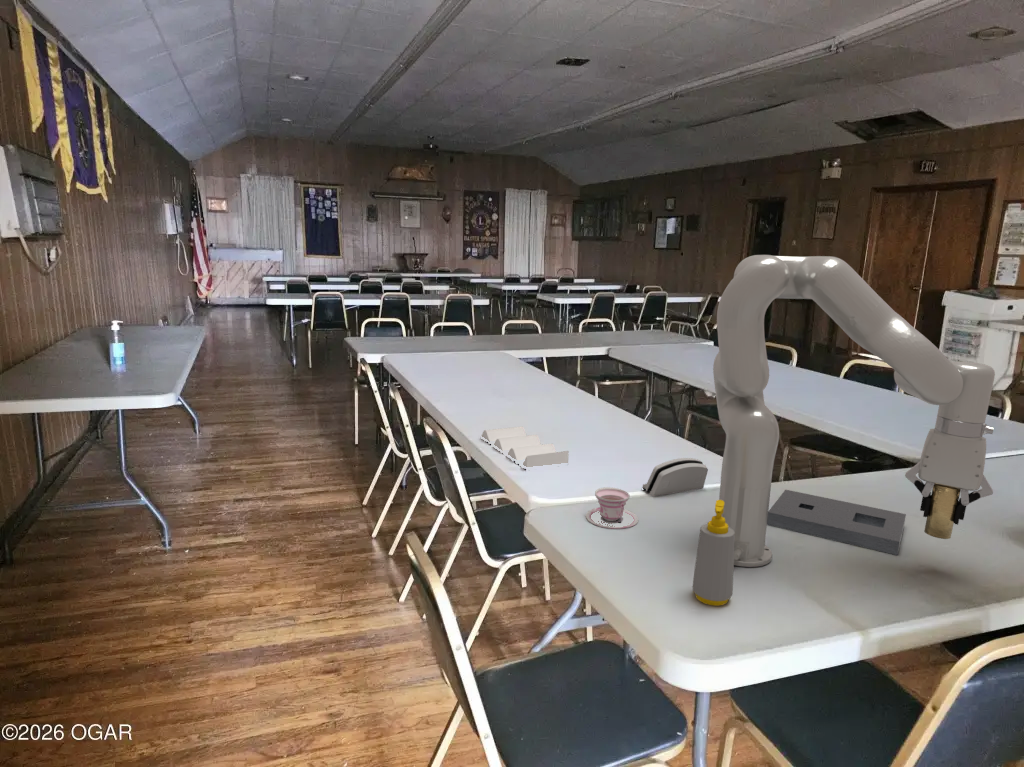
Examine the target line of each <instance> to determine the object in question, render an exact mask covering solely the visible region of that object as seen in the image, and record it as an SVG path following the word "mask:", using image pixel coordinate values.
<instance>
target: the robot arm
mask: <svg viewBox="0 0 1024 767" xmlns="http://www.w3.org/2000/svg"><path fill="white" fill-rule="evenodd" d="M775 299H789V300H790V299H791V300H794V299H795V300H803V299H804V300H812V301H813V302H814V303H816V304H817V306H819V307H820V309H822V311H824V313H825V314H826V315H827V316H829V317H830V319H832V321H833V322H834V323H835V324H836V325H837V326H838V327H839V328H840V329H841V330H843V332H844V333H845V334H846V335H847V336H848V338H850V339H851V340H852V341H853V342H855V343H856V344H857V345H858V346H860V347H861V348H862V349H864V350H866V351H868V352H869V353H871V354H873V355H874V356H876V357H878V359H881V361H883V362H884V363H886V365H889V367H890V368H891V369H893V370H894V371H893V379H894V382H895V384H896V386H898V388H899V389H900V390H901V391H903V392H904V393H906V394H908V395H911V396H912V397H914V398H917V399H919V400H921V401H923V402H924V403H928V404H929V405H933V406H934V405H935V406H938V410H937V415H936V418H935V419H936V420H935V425H934V428H930V429H929V431H928V433H927V435H926V439H925V440H924V444H923V448H922V453H921V456H920V458H919V461H918V462H917V463H916V464H915V465H913V466H912V467H911V468H910V469H908V470H907V471H906V472H905V473H904V474H905V475H904V477H905V478H906V479H907V480H908V481H909V482H911V484H912V485H914V486H915V488H916V489H917V490H918V491H919V493H920V494H921V496H922V499H921V504H920V508H919V511H921V512H923V515H922V517H923V518H927V517H928V512H929V507H930V502H931V494H932V489H933V486H934V484H939V485H944V486H948V487H953V488H958V489H960V497H959V500H958V504H957V509H956V513H955V518H954V525H959V522H960V520H961V521H964V520H965V519H964V518H965V513H966V509H967V506H968V505H970V504H972V503H973V502H975V501H977V500H979V499H981V498H987V497H989V496H991V495H993V493H994V490H993V488H992V486H991V485H990V483H989V481H988V479H987V478H986V476H985V474H984V471H985V464H986V457H987V453H986V452H987V438H986V437H983V436H985V435H987V434H990V435H993V433H994V430H995V429H994V426H989V425H987V423H986V420H987V415H988V411H989V405H990V400H991V396H992V391H993V386H994V381H995V376H996V372H995V369H994V368H993V367H992V366H990V365H989V364H985V363H980V362H974V361H959V360H958V361H951V360H950V359H949V358H948V357H947V356H946V355H945V353H943V351H941V350H940V349H939V348H938V347H937V346H936V345H935V344H934V343H932V341H931V340H929V339H928V338H927V337H926V336H925V335H924V334H922V333H921V332H920V331H919V330H917V329H916V328H915V327H914V326H912V325H911V324H910V323H909V322H908V321H907V320H906V319H905V318H903V317H902V315H900V314H899V313H898V312H897V311H895V310H894V309H893V308H892V307H891V306H890V305H889V304H888V303H887V302H886V301H885V300H884V299H883V298H882V297H881V296H880V295H879V294H877V292H876V291H875V289H873V288H872V287H871V286H870V285H869V284H868V283H867V282H866V280H864V278H862V277H861V276H860V275H859V273H858V272H856V271H855V269H854V268H853V267H852V266H850V264H849V263H847V262H846V261H845V260H843V259H842V258H839V257H837V256H829V255H828V256H825V255H822V256H821V255H816V256H815V255H813V256H811V255H810V256H789V255H771V254H754V255H751V256H748V257H745V258H744V259H742V260H741V261H740V262H739V263H738V264H737V266H736V268H735V270H734V273H733V278H732V279H731V280H730V281H729V283H728V284H727V286H726V288H725V289H724V291H723V293H722V294H721V296H720V299H719V303H718V306H717V312H716V328H717V330H716V331H717V340H718V341H717V342H718V353H717V354H716V356H715V358H714V361H713V364H712V366H713V368H712V371H713V372H712V373H713V381H714V382H713V383H714V390H715V398H716V407H717V414H718V419H719V422H720V425H721V427H722V429H723V431H724V433H725V444H724V450H723V456H722V457H723V458H722V464H721V471H720V486H719V496H718V500H723V501H724V511H723V514H722V517H724V518H725V523H727V524H728V527H730V528H731V529H733V530H734V532H735V541H734V566H737V567H745V568H746V567H747V568H755V567H763V566H765V565H768V564H769V563H771V561H772V559H773V552H772V550H771V548H769V547H768V546H767V545H766V537H767V527H768V525H767V519H768V511H769V510H770V509H769V507H770V500H771V498H770V497H771V489H772V479H773V478H772V477H773V470H774V464H775V458H776V453H777V450H778V445H779V442H780V441H779V440H780V427H779V422H778V420H777V417H776V416H775V414H774V413H773V412H772V411H771V410H770V408H768V407H767V405H766V404H765V397H764V390H765V389H766V388H767V386H768V384H769V379H770V368H769V367H770V366H769V361H768V354H767V346H766V338H765V315H766V312H767V309H768V308H769V306H770V305H771V303H772V302H773V301H774V300H775ZM917 475H918V476H917ZM923 481H924V482H925V483H924V482H923ZM980 487H981V489H980Z"/></svg>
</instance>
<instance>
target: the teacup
mask: <svg viewBox="0 0 1024 767" xmlns="http://www.w3.org/2000/svg"><path fill="white" fill-rule="evenodd" d="M594 496H595V498H596V499H597V501H598V503H599V507H596V508H592V509H590V510H588V511H587V512H586V513H585V519H586V520H587V521H588V522H589V523H591V524H592V525H594V526H596V527H597V526H598V527H601V528H604V529H611V530H612V529H613V530H620V529H622V530H623V529H628V528H633V527H634V526H636V525H637V524H638V523H639V517H638V515H637V514H635V512H632V511H630V510H628V509H626V508H625V506H626V505H627V504H626V503H627V502H628V500H629V499H630V497H631V495H630V494H629V492H628V491H626V490H624V489H621V488H618V487H617V488H616V487H610V486H609V487H608V486H607V487H600V488H597V489H595V491H594ZM597 511H599V512H600V515H601V516H602V519H604V521H606V523H607V522H610V523H611V524H612V523H613V522H617V521H618V520H619V519H620V518H621V517H622V516H623V512H625V513H627V514H629V515H631V516H632V517H633V519H634V521H633V522H632V523H631V524H630V525H627V526H623V527H615V526H614V527H613V525H612V526H610V525H609V526H610V527H609V526H608V524H610V523H608V524H607V526H603V525H601V524H600V523H599V524H597V523H595V522H594V521H593V520H592V519H591V515H592V514H593V513H595V512H597ZM599 512H598V513H599ZM616 520H617V521H616ZM598 522H599V521H598ZM601 523H602V521H601ZM603 523H605V522H603ZM603 523H602V524H603ZM628 524H629V523H628ZM605 525H606V524H605Z"/></svg>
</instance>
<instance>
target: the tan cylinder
mask: <svg viewBox="0 0 1024 767" xmlns="http://www.w3.org/2000/svg"><path fill="white" fill-rule="evenodd" d="M960 496H961V492H960V489H958V488H953V487H948V486H944V485H939V484H934V486H933V488H932V490H931V502H930V507H929V512H928V517H926V519H925V520H926V521H925V524H924V525H925V526H924V530H923V531H924V533H925V534H927V535H928V536H931V537H934V538H937V539H940V540H941V539H943V540H950V539H951V538H952V533H953V527H954V525H955V523H954V518H955V513H956V509H957V504H958V501H959V499H960Z"/></svg>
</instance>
